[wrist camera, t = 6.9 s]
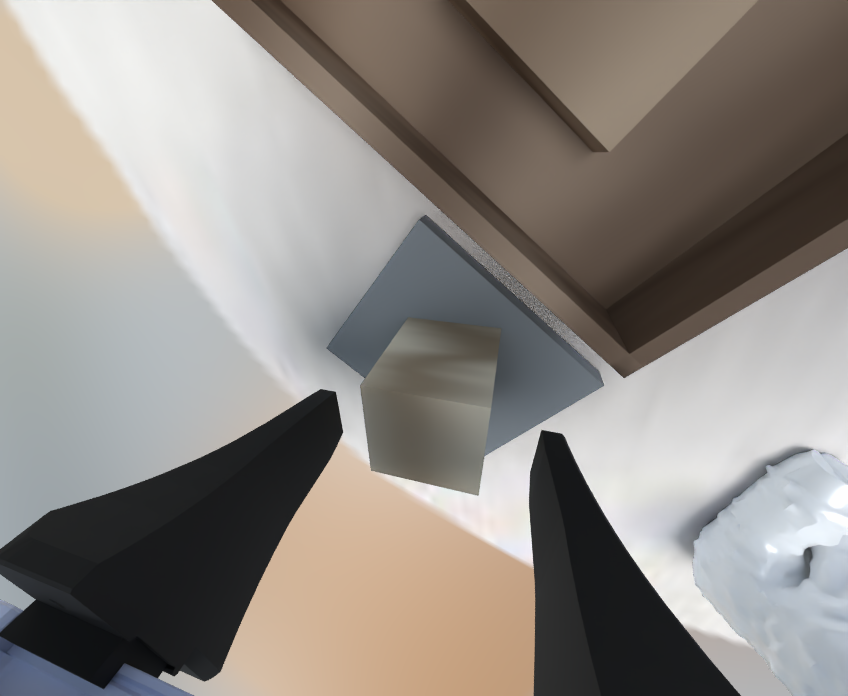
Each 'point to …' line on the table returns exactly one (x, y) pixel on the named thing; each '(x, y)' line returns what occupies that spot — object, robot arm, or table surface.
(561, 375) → the slate mat
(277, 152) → the table surface
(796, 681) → the white creature statuette
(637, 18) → the walnut crate
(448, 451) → the metal block
